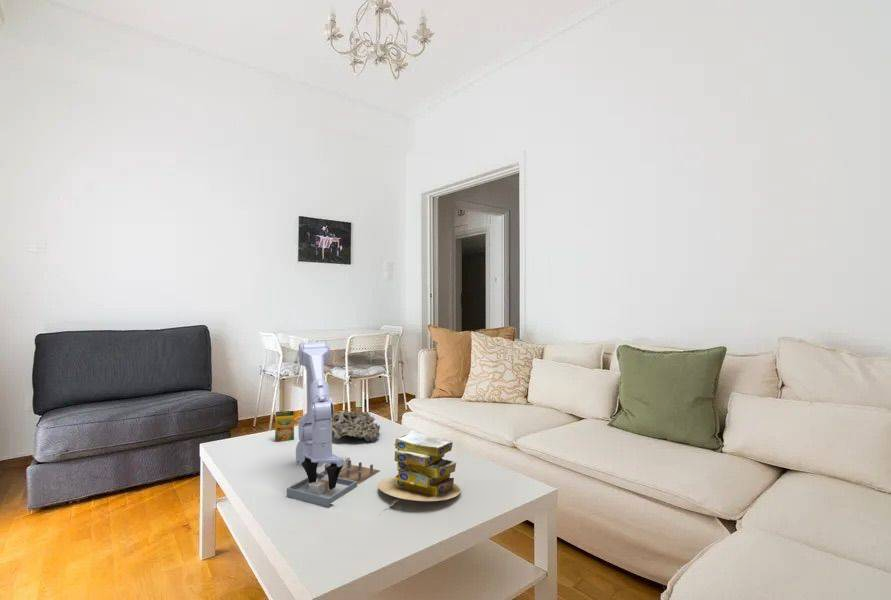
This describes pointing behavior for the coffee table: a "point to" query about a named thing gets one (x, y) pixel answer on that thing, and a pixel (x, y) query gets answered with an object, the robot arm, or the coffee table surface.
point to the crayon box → (284, 426)
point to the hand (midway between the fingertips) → (322, 485)
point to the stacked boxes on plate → (421, 469)
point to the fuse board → (356, 472)
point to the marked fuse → (319, 486)
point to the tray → (316, 498)
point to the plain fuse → (344, 463)
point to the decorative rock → (355, 425)
